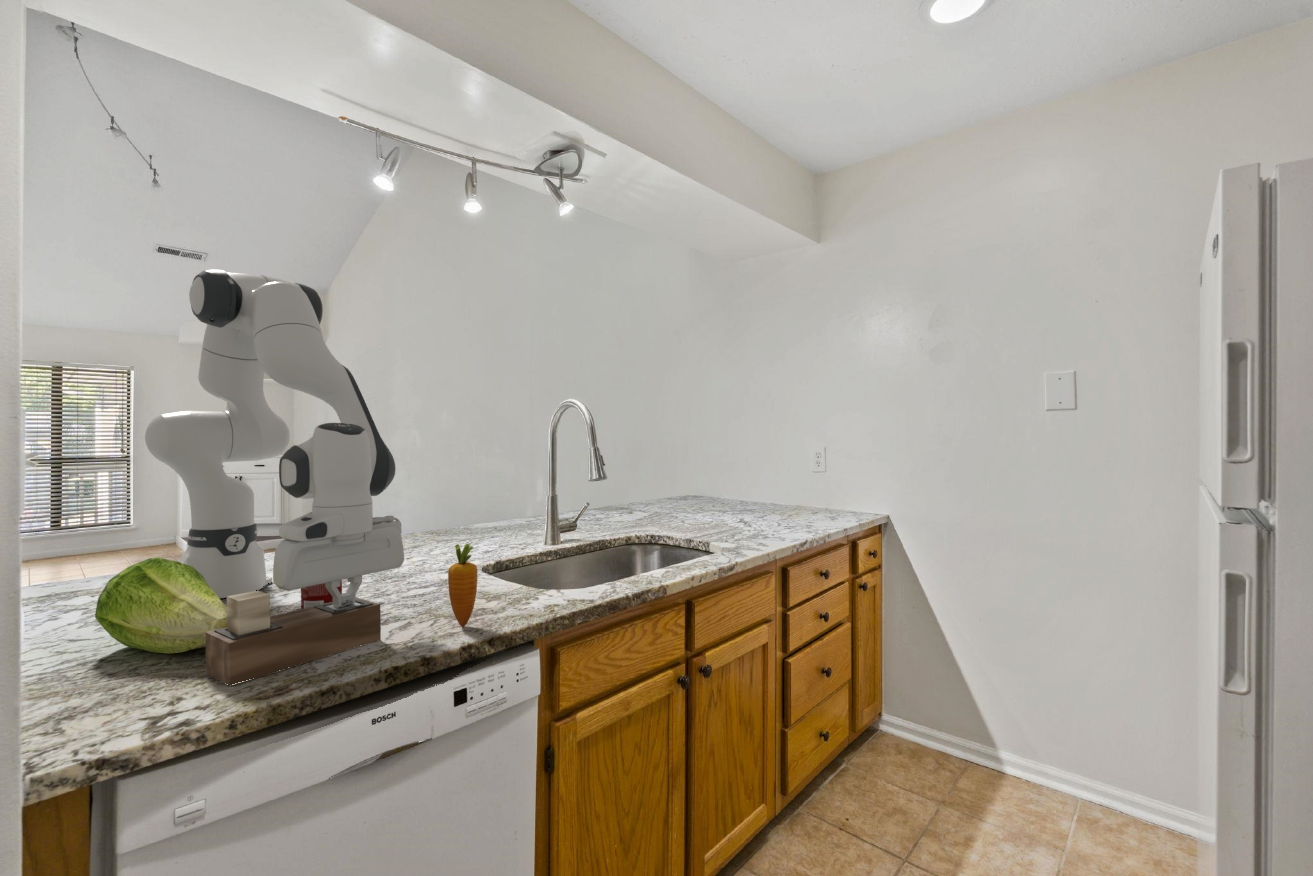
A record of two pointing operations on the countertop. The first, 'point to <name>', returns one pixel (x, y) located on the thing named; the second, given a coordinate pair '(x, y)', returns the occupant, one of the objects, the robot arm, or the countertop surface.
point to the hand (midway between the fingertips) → (344, 605)
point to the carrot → (462, 585)
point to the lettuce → (160, 607)
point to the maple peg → (248, 612)
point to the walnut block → (290, 641)
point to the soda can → (316, 595)
